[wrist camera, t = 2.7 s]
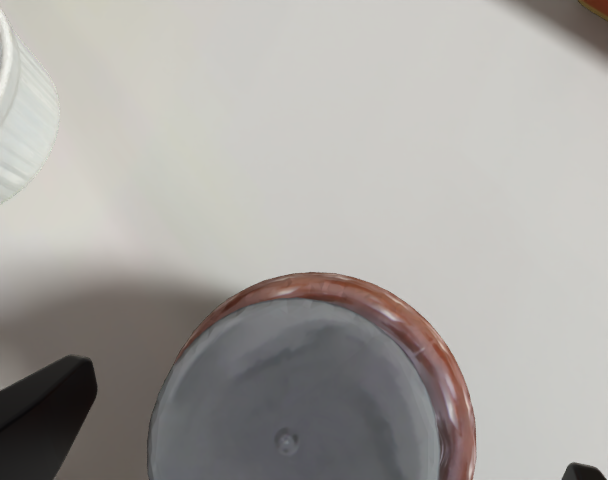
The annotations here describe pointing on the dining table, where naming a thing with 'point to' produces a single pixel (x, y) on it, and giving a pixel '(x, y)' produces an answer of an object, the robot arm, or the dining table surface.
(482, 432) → the dining table surface
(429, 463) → the supplement bottle
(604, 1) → the carton
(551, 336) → the dining table surface
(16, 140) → the ramekin
